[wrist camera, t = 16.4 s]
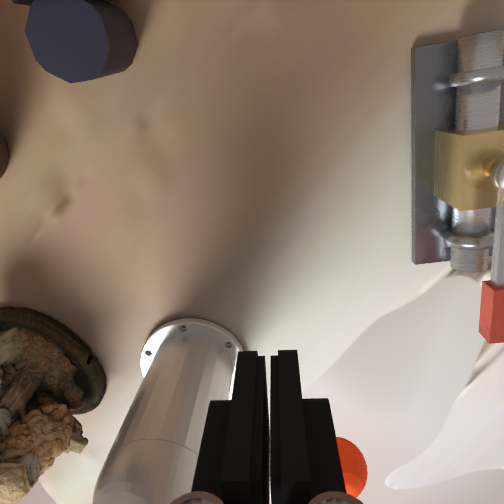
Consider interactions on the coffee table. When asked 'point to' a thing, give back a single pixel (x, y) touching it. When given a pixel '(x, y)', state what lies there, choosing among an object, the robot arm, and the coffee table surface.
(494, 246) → the valve lever
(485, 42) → the valve body
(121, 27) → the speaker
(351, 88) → the coffee table surface
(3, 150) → the plant pot
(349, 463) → the clementine
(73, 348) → the owl figurine
